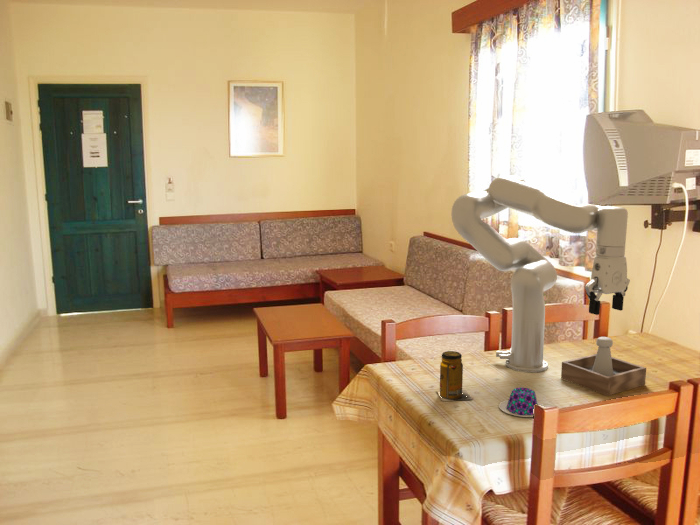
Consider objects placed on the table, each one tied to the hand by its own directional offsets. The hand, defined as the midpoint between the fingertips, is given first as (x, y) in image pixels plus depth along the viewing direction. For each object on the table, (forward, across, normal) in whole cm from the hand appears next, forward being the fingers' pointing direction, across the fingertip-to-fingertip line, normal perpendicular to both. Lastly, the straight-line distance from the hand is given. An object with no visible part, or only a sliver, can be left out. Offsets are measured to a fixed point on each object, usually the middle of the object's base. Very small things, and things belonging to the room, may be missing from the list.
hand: (605, 311), depth 188 cm
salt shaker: (+21, 0, 0) cm, 21 cm away
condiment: (+21, -43, +13) cm, 50 cm away
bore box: (+21, 0, 0) cm, 21 cm away
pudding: (+21, -34, -3) cm, 40 cm away
